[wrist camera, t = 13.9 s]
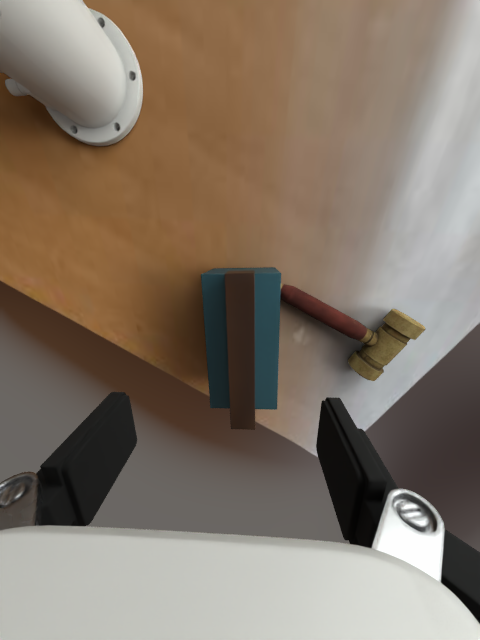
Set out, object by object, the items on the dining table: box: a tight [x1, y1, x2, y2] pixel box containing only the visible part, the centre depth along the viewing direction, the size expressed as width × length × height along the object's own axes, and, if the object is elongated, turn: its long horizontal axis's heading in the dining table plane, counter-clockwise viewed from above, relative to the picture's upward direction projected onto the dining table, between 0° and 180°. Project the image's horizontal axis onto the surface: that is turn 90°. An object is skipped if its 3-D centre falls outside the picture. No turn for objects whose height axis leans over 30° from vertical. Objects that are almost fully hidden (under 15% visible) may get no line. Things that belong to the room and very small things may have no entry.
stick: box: [225, 270, 255, 430], centre depth 27 cm, size 3×19×3 cm, turn 1°
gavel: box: [280, 284, 425, 381], centre depth 33 cm, size 21×5×10 cm
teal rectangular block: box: [201, 268, 281, 409], centre depth 32 cm, size 9×18×8 cm, turn 1°
